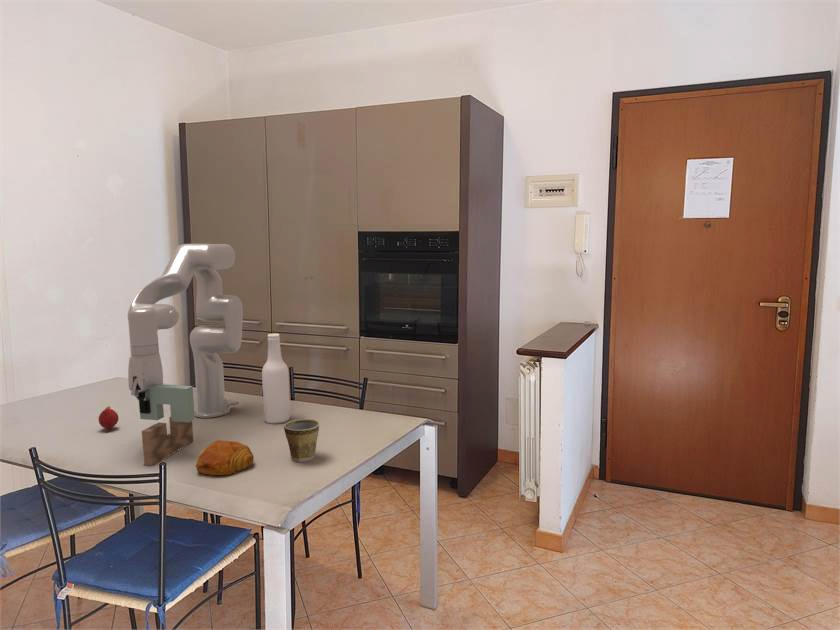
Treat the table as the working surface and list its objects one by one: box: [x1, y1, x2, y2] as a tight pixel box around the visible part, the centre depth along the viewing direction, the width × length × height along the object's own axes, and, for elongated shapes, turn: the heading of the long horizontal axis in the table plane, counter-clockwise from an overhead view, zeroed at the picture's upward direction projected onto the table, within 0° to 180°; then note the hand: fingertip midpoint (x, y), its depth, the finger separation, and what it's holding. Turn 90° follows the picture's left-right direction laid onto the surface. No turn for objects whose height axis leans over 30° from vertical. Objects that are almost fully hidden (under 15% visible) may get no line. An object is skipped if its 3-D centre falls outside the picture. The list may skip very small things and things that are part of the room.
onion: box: [98, 405, 119, 431], centre depth 203 cm, size 6×6×8 cm
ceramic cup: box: [283, 418, 320, 463], centre depth 179 cm, size 13×10×10 cm
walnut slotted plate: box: [141, 416, 194, 467], centre depth 182 cm, size 20×2×10 cm, turn 167°
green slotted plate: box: [139, 383, 196, 423], centre depth 181 cm, size 16×3×10 cm, turn 77°
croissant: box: [195, 439, 254, 476], centre depth 172 cm, size 14×16×8 cm
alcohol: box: [261, 333, 291, 425], centre depth 210 cm, size 9×9×30 cm
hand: (149, 410), depth 182 cm, fingers closed on green slotted plate, 3 cm apart
